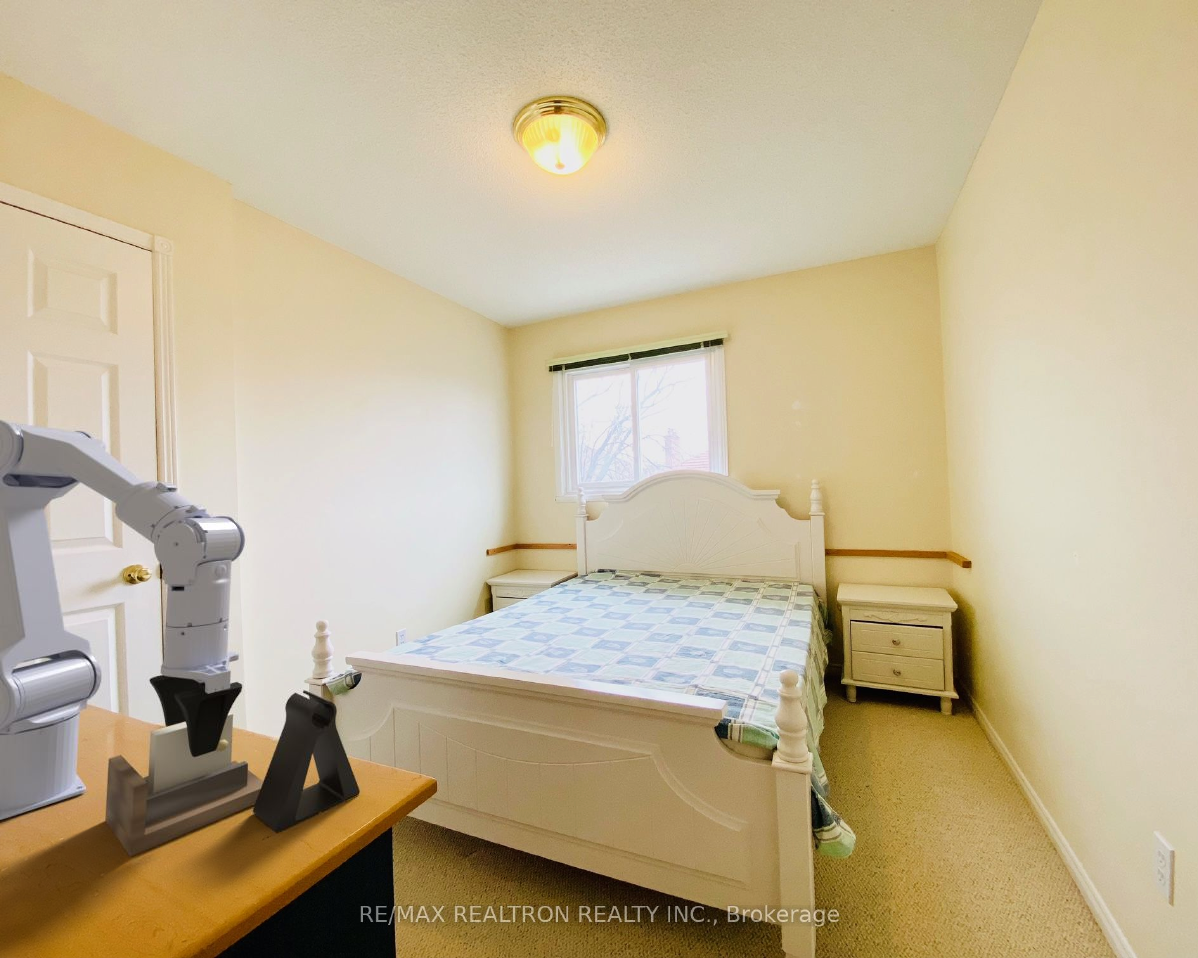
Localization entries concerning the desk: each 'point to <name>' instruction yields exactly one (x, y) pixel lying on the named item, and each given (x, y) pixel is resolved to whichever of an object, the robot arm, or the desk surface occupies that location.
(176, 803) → the brown base with rails
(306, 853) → the desk surface
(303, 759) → the phone stand
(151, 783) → the cabinet door
